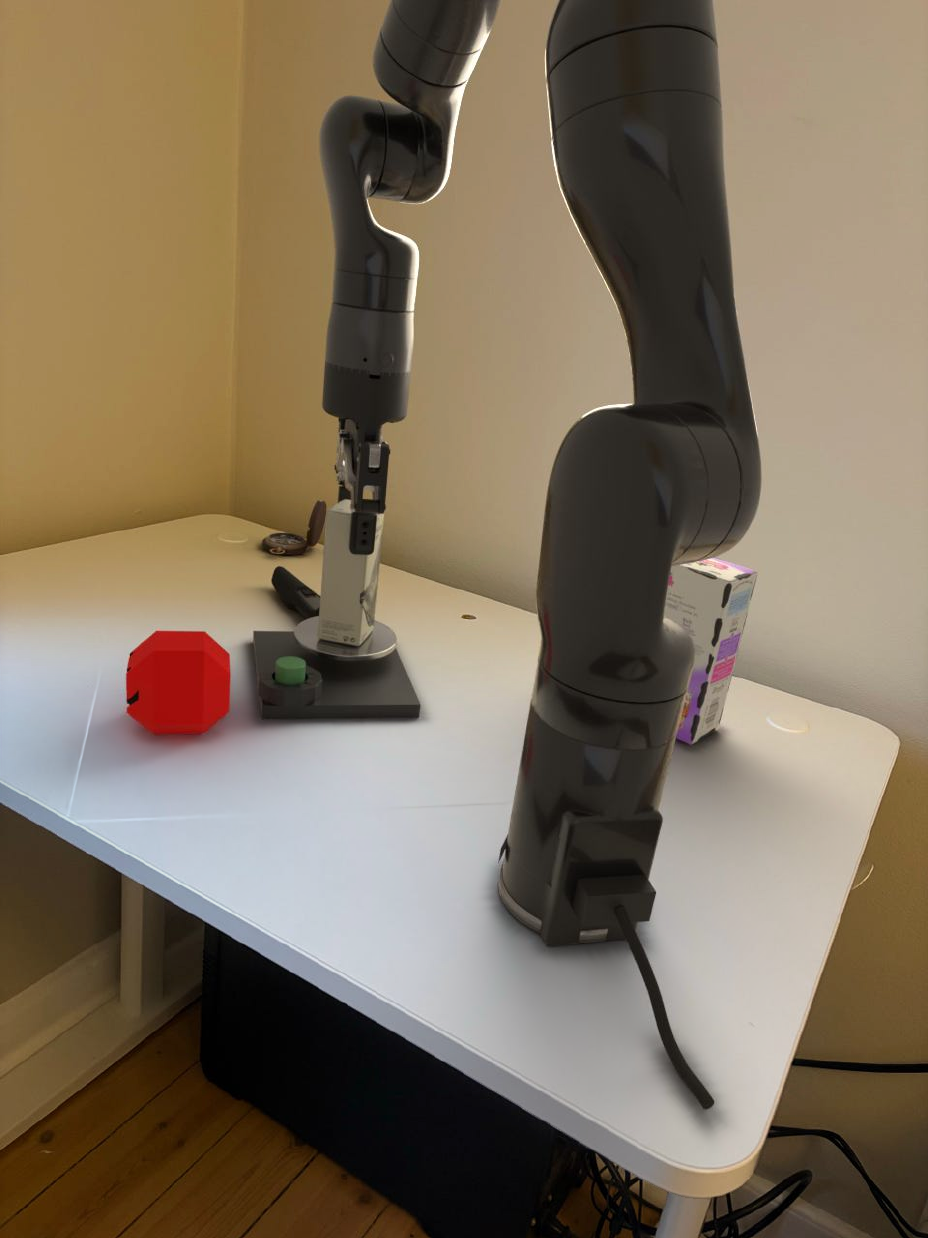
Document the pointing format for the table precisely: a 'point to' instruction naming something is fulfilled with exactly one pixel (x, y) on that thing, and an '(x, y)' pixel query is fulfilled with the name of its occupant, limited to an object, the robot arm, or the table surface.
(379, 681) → the scale
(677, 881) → the table surface
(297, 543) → the compass
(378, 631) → the weighing pan
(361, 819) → the table surface
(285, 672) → the tare button
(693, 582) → the candy box
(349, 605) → the box
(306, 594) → the electric trimmer
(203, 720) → the red chamfered polyhedron
